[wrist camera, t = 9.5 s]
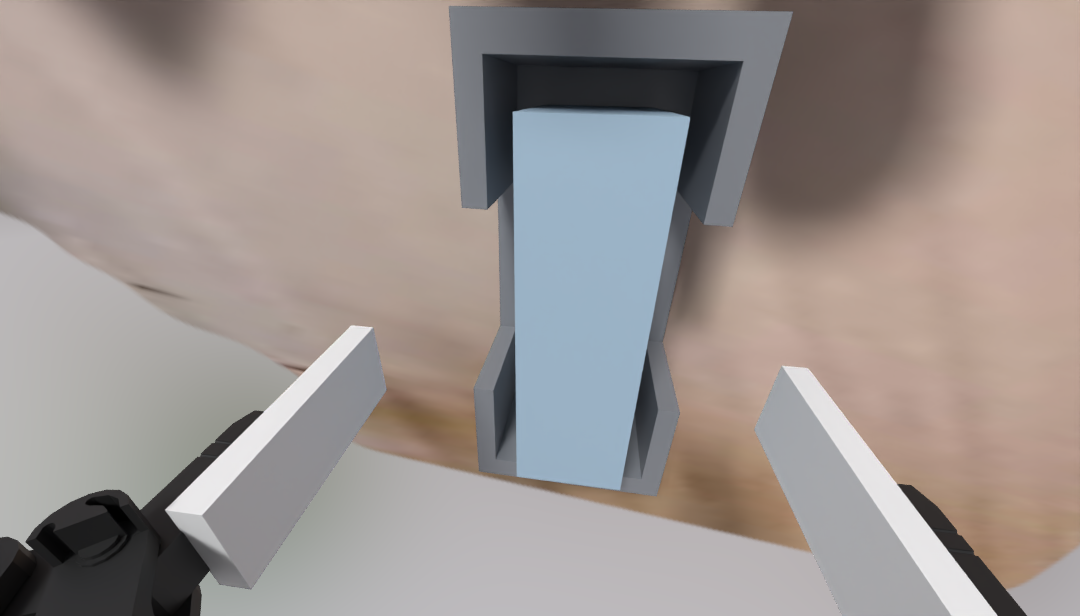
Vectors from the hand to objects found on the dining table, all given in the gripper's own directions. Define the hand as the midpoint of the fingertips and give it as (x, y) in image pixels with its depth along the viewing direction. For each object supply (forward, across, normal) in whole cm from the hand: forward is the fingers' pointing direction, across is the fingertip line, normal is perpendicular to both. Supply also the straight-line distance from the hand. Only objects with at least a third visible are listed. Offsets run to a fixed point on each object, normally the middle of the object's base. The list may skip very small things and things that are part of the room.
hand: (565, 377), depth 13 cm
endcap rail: (+11, +1, 0) cm, 11 cm away
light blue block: (+10, +1, 0) cm, 10 cm away
